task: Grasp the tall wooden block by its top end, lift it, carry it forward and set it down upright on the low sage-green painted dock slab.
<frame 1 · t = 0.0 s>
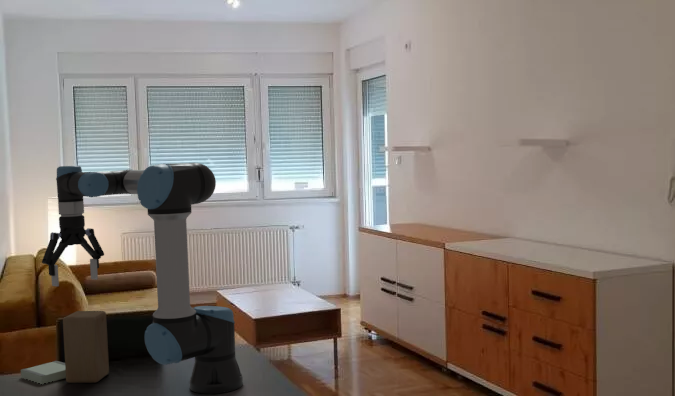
hand: (75, 282, 240), 28 cm above the table, fingers open, 13 cm apart
dock: (49, 376, 236), on the table
wooden block: (88, 379, 232), on the table
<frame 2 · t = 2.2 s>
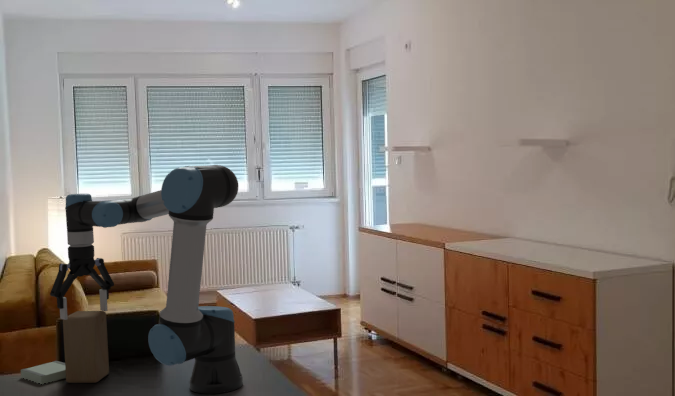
hand: (84, 314, 231), 20 cm above the table, fingers closed on wooden block, 13 cm apart
wooden block: (88, 379, 232), on the table, touching gripper
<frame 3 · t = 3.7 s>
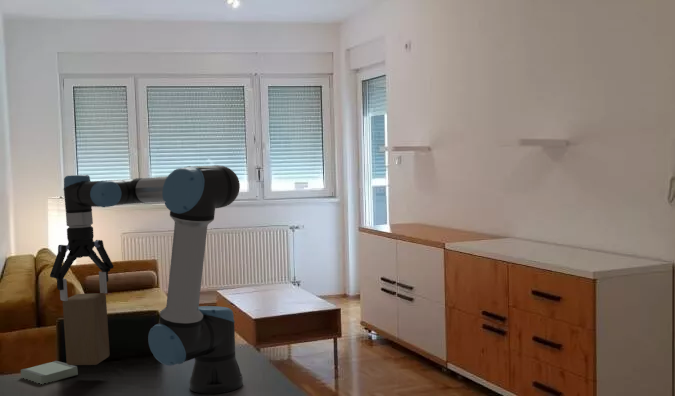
hand: (84, 296, 230), 25 cm above the table, fingers closed on wooden block, 13 cm apart
wooden block: (88, 361, 231), point 5 cm above the table, touching gripper
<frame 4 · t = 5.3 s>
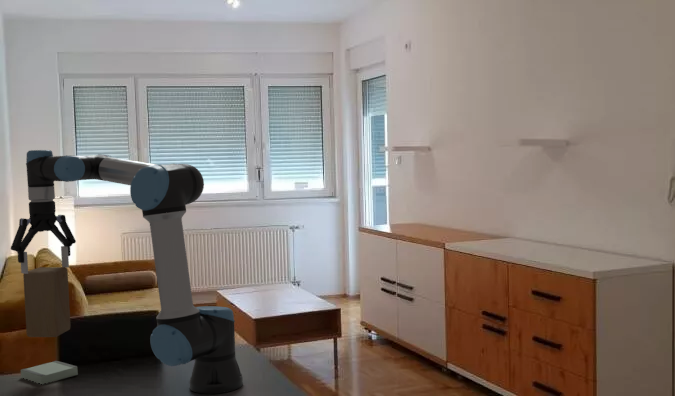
hand: (45, 270, 234), 33 cm above the table, fingers closed on wooden block, 13 cm apart
wooden block: (49, 334, 235), point 13 cm above the table, touching gripper
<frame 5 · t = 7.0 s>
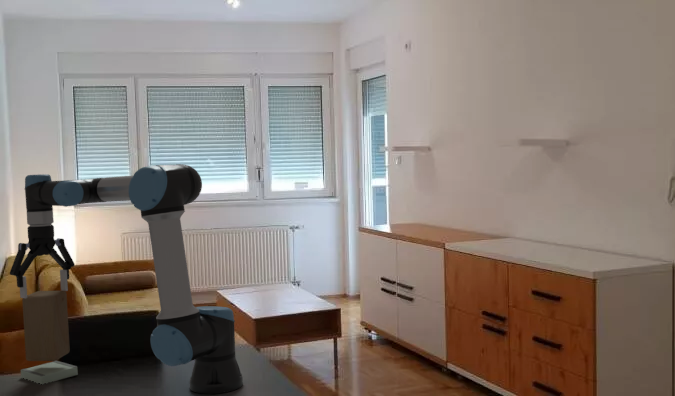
hand: (44, 294, 234), 26 cm above the table, fingers closed on wooden block, 13 cm apart
wooden block: (48, 357, 235), point 6 cm above the table, touching gripper
when the fingers open (22 cm above the table, at t = 8.5 s): wooden block stays where it is, resting on dock.
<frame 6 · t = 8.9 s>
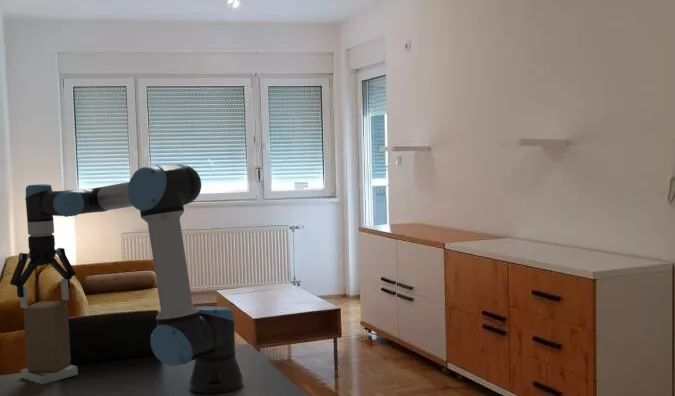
hand: (45, 303, 234), 23 cm above the table, fingers open, 13 cm apart
wooden block: (49, 368, 236), point 2 cm above the table, touching dock
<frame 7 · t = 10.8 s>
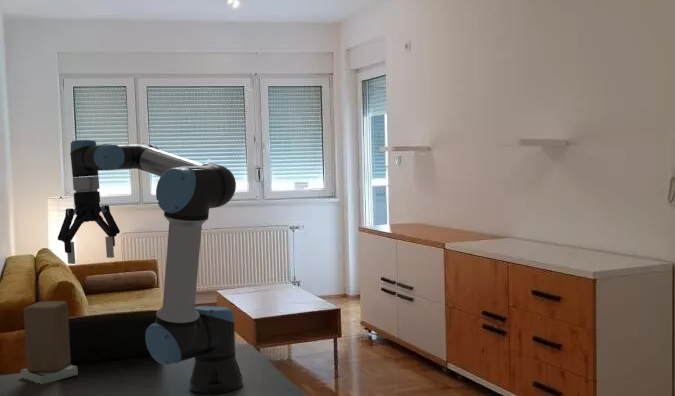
hand: (91, 260, 232), 36 cm above the table, fingers open, 13 cm apart
nothing on the table moved.
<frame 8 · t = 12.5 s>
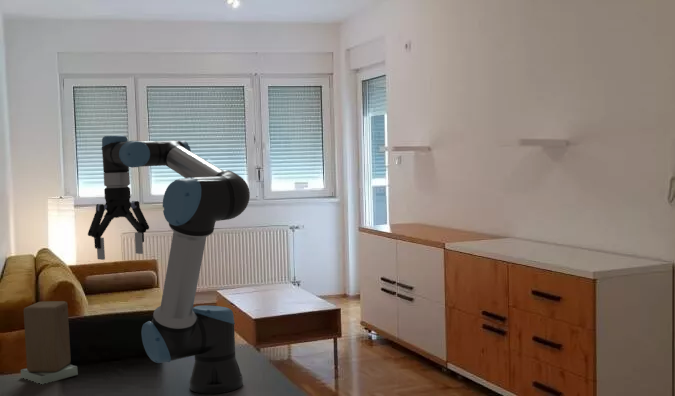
hand: (120, 256, 232), 37 cm above the table, fingers open, 13 cm apart
nothing on the table moved.
at the end: wooden block inside the target area on the dock (0.1 cm from its centre), point 2.4 cm above the dock's base; wooden block tilted 0°; the gripper is holding nothing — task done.
